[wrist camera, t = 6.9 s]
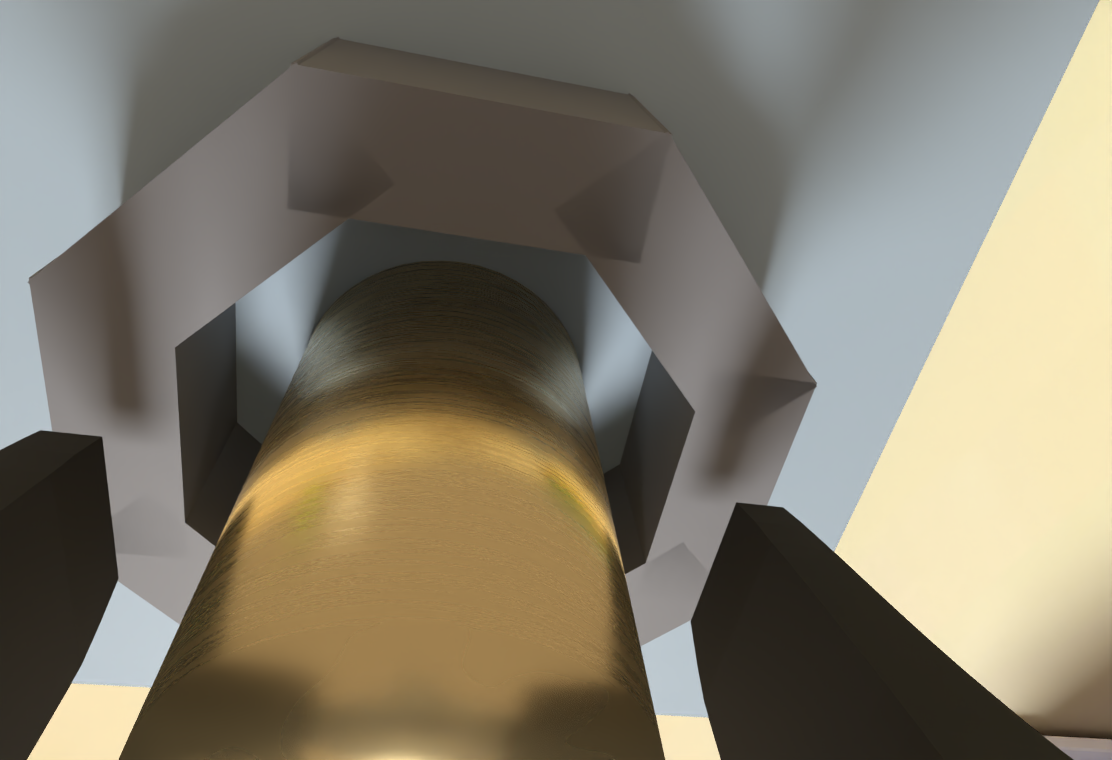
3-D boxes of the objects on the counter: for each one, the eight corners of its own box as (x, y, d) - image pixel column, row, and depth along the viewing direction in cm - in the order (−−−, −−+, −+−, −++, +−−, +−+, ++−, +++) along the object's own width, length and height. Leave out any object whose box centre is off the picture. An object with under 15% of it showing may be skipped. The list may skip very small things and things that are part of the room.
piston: (607, 283, 12) (734, 645, 6) (554, 510, 14) (604, 949, 8) (306, 239, 11) (81, 599, 5) (300, 486, 13) (138, 946, 7)
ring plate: (1084, -78, 11) (1321, -87, 8) (740, 683, 18) (791, 829, 15) (-214, -412, 8) (-635, -629, 5) (14, 637, 16) (-99, 803, 13)
